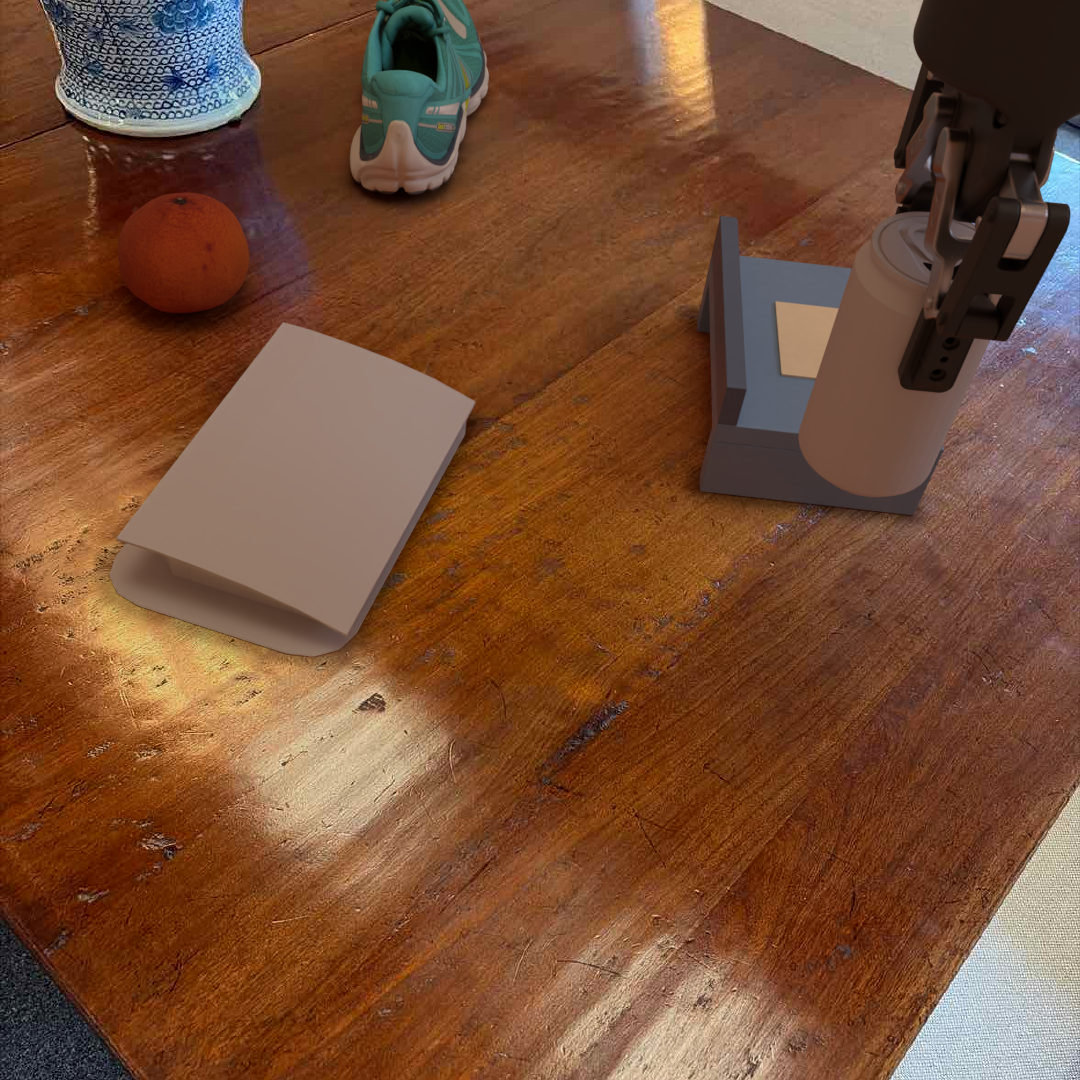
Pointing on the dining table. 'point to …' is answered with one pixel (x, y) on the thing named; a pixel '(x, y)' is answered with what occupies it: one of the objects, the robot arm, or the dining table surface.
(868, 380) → the beverage can
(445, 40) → the running shoe
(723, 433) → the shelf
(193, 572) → the book
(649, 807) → the dining table surface
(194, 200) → the fruit
